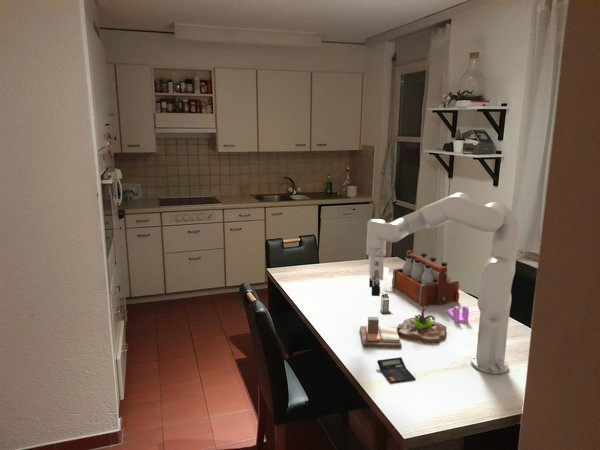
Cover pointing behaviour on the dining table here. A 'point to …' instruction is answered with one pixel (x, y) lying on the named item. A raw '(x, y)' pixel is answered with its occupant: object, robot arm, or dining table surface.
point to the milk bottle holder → (425, 281)
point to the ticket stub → (373, 329)
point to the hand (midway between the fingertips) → (374, 291)
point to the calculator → (395, 370)
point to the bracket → (459, 314)
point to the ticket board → (382, 338)
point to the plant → (422, 329)
